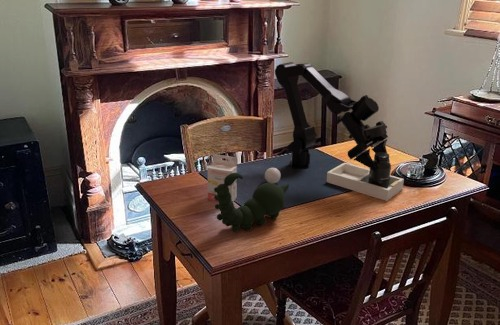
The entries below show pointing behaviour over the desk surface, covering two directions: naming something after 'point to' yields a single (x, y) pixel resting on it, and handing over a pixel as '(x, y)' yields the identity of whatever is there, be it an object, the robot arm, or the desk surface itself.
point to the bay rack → (362, 181)
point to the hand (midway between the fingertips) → (382, 166)
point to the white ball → (272, 175)
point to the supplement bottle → (380, 170)
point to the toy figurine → (249, 204)
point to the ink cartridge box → (221, 175)
